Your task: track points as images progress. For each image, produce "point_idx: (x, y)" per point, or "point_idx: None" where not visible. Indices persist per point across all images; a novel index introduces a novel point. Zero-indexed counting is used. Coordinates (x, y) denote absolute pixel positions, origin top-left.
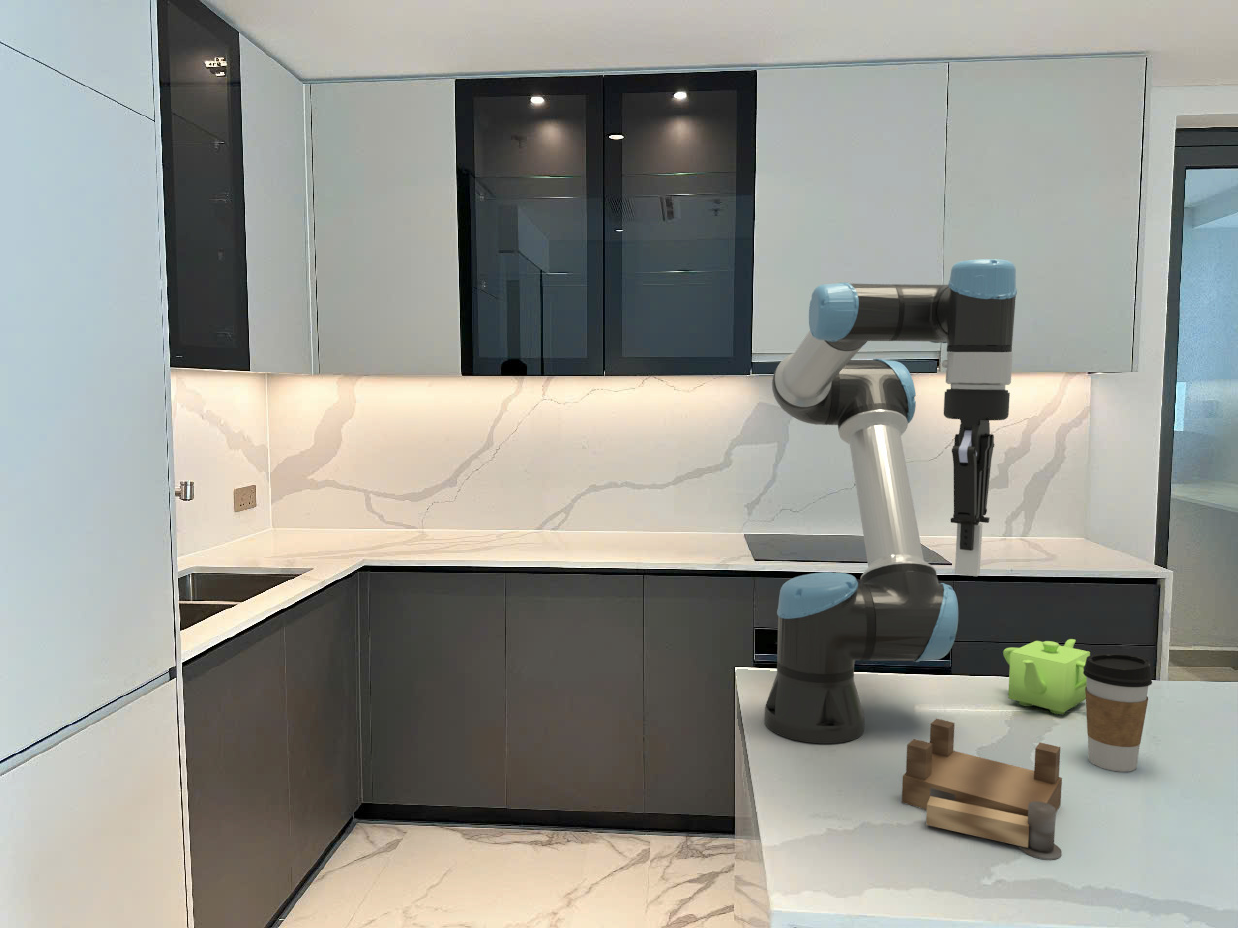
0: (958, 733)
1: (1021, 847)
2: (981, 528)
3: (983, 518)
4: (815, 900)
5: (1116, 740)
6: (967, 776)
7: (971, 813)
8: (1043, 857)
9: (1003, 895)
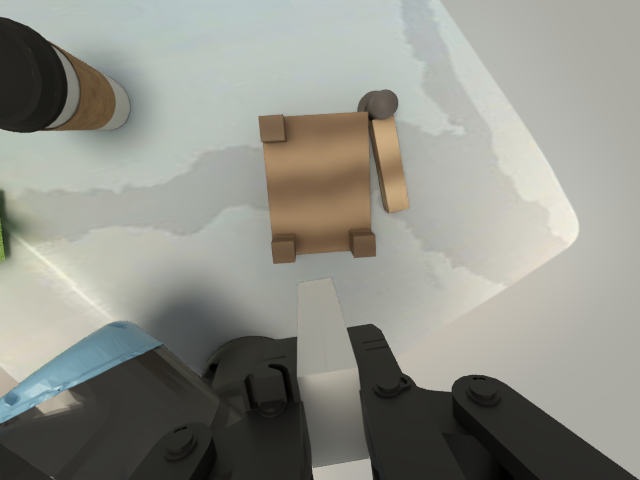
0: (157, 266)
1: None
2: (314, 360)
3: (295, 392)
4: (562, 222)
5: (109, 86)
6: (329, 199)
7: (401, 168)
8: None
9: (474, 111)
